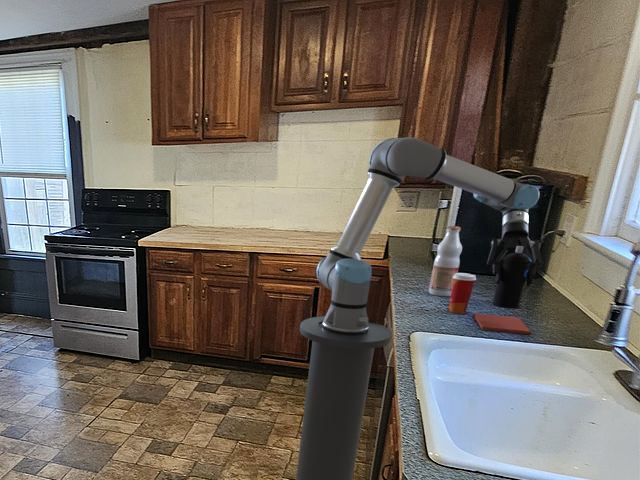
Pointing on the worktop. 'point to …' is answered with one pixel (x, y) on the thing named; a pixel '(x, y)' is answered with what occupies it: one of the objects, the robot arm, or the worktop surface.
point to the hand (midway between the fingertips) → (513, 282)
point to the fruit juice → (446, 263)
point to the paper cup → (461, 292)
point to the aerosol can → (512, 279)
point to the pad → (501, 323)
